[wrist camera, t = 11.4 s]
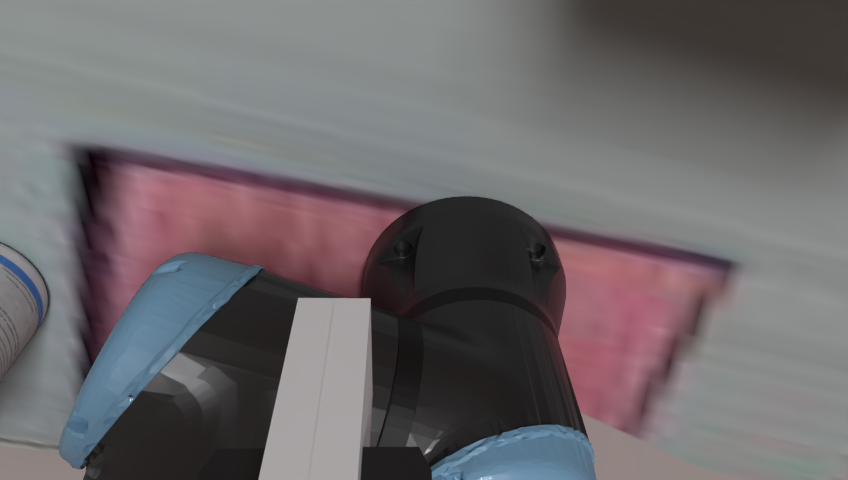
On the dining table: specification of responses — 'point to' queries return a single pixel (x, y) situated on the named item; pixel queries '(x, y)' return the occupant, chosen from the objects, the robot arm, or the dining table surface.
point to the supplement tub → (18, 305)
